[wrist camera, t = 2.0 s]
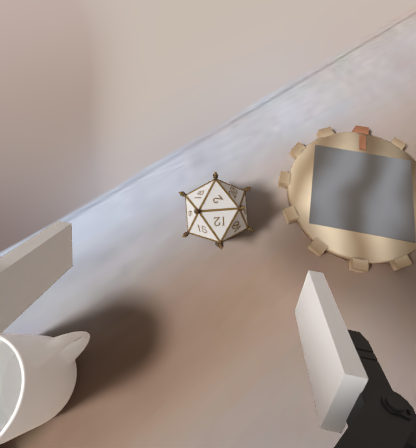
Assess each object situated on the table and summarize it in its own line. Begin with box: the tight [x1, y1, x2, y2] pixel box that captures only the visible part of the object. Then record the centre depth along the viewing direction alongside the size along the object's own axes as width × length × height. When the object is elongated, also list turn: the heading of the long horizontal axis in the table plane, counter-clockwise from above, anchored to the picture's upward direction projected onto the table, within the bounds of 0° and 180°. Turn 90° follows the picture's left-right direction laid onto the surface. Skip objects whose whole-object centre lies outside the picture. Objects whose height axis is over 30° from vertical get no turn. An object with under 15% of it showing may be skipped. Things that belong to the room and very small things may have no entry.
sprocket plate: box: [278, 126, 416, 273], centre depth 40 cm, size 21×21×1 cm
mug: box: [0, 331, 90, 444], centre depth 28 cm, size 9×12×11 cm
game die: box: [179, 172, 254, 250], centre depth 36 cm, size 9×8×10 cm
